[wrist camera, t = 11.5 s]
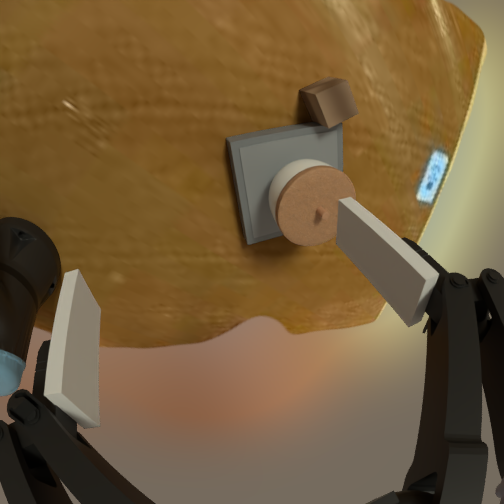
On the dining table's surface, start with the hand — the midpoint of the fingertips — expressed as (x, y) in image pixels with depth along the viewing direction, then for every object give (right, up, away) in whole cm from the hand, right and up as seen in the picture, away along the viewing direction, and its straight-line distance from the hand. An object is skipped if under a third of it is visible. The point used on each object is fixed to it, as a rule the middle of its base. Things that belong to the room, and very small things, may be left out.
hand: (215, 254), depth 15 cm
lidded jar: (+8, +10, +28) cm, 31 cm away
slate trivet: (+7, +11, +30) cm, 33 cm away
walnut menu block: (+11, +22, +24) cm, 35 cm away
